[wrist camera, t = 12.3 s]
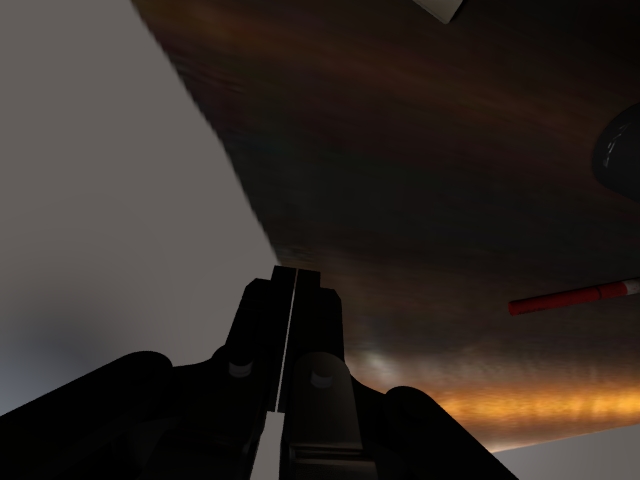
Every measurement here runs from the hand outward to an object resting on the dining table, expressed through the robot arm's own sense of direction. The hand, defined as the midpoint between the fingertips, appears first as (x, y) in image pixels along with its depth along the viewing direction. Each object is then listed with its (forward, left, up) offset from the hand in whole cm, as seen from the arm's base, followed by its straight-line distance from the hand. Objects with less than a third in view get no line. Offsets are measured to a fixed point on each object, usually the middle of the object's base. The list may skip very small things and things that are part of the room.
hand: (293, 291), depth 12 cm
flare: (-34, +14, -28) cm, 46 cm away
